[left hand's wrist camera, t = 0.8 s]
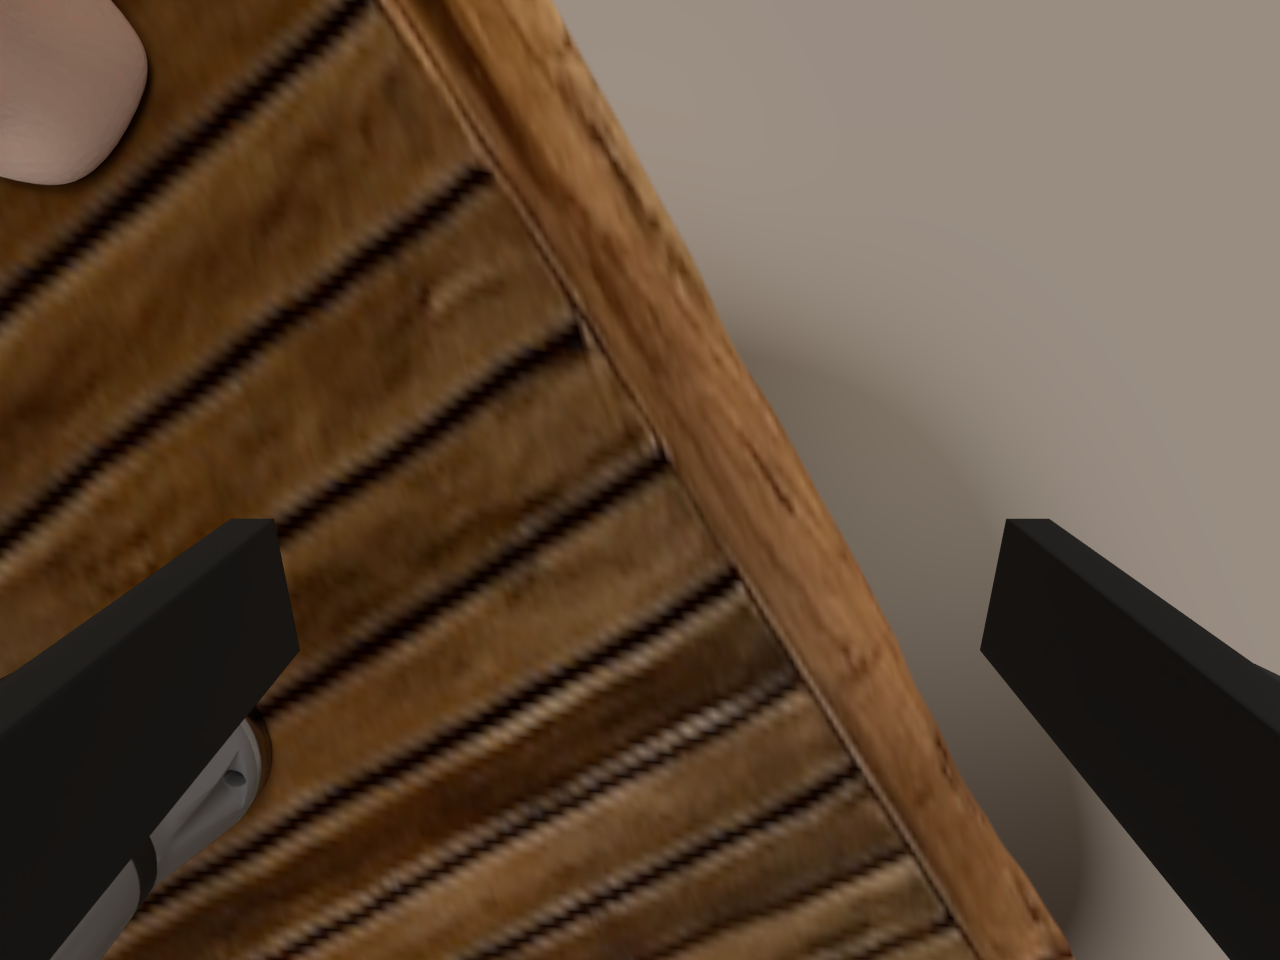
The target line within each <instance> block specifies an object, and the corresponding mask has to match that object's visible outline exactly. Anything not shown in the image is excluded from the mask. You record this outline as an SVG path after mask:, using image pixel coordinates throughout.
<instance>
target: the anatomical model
mask: <svg viewBox="0 0 1280 960" xmlns="http://www.w3.org/2000/svg"><path fill="white" fill-rule="evenodd" d="M147 72H148V65H147V57H146V53H145V50H144V47H143V45H142V43H141V41H140V39H139V37H138V35H137V34H136V32H135V30H134V29H133V28H132V26H131V25H130V24H129V22H128V21H127V19H126V18H125V17H124V15H123V14H122V13H121V11H120V10H119V9H118V8H117V7H116V6H115V4H114V3H113V2H112V1H111V0H0V177H4V178H8V179H13V180H17V181H22V182H28V183H34V184H43V185H60V184H67V183H70V182H74V181H77V180H79V179H81V178H83V177H85V176H86V175H88V174H89V173H90V172H92V171H93V170H94V169H96V168H97V167H98V166H99V165H100V164H101V163H102V162H103V161H104V160H105V159H106V158H107V157H108V155H109V154H110V153H111V152H112V150H113V149H114V148H115V146H116V145H117V144H118V142H119V140H120V139H121V137H122V135H123V134H124V132H125V131H126V129H127V127H128V125H129V123H130V122H131V120H132V118H133V116H134V114H135V112H136V110H137V108H138V105H139V102H140V100H141V97H142V95H143V92H144V89H145V85H146V81H147Z"/></svg>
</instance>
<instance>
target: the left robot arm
mask: <svg viewBox="0 0 1280 960" xmlns="http://www.w3.org/2000/svg"><path fill="white" fill-rule="evenodd" d="M299 651H300V648H299V643H298V638H297V633H296V628H295V623H294V618H293V613H292V608H291V603H290V598H289V593H288V588H287V583H286V578H285V573H284V568H283V563H282V558H281V553H280V548H279V543H278V538H277V533H276V528H275V523H274V519H230V520H229V521H227V522H226V523H224V524H223V525H222V526H220V527H219V528H217V529H216V530H214V531H213V532H212V533H210V534H209V535H207V536H206V537H205V538H203V539H202V540H200V541H199V542H198V543H196V544H195V545H193V546H192V547H190V548H189V549H188V550H186V551H185V552H183V553H182V554H181V555H179V556H178V557H176V558H175V559H173V560H172V561H171V562H169V563H168V564H166V565H165V566H164V567H162V568H161V569H159V570H158V571H157V572H155V573H154V574H152V575H151V576H149V577H148V578H147V579H145V580H144V581H142V582H141V583H140V584H138V585H137V586H135V587H134V588H133V589H131V590H130V591H128V592H127V593H125V594H124V595H123V596H121V597H120V598H118V599H117V600H116V601H114V602H113V603H111V604H110V605H108V606H107V607H106V608H104V609H103V610H101V611H100V612H99V613H97V614H96V615H94V616H93V617H92V618H90V619H89V620H87V621H86V622H84V623H83V624H82V625H80V626H79V627H77V628H76V629H75V630H73V631H72V632H70V633H69V634H68V635H66V636H65V637H63V638H62V639H60V640H59V641H58V642H56V643H55V644H53V645H52V646H51V647H49V648H48V649H46V650H45V651H43V652H42V653H41V654H39V655H38V656H36V657H35V658H34V659H32V660H31V661H29V662H28V663H27V664H25V665H24V666H22V667H21V668H19V669H18V670H17V671H15V672H14V673H12V674H9V675H7V676H5V677H3V678H1V679H0V960H101V959H102V957H103V956H104V955H105V953H106V952H107V950H108V949H109V948H110V946H111V945H112V944H113V942H114V941H115V940H116V938H117V937H118V936H119V934H120V933H121V932H122V930H123V929H124V927H125V926H126V925H127V923H128V922H129V921H130V919H131V918H132V917H133V915H134V913H135V912H136V911H137V910H138V908H139V907H140V906H141V904H142V903H143V902H144V900H145V899H146V898H147V896H148V895H149V894H150V893H151V891H152V890H153V889H154V887H155V886H156V885H157V884H159V883H160V882H161V881H163V880H164V879H165V878H167V877H168V876H169V875H170V874H172V873H173V872H174V871H176V870H177V869H178V868H179V867H181V866H182V865H183V864H185V863H186V862H187V861H189V860H190V859H191V858H192V857H194V856H195V855H196V854H198V853H199V852H200V851H201V850H203V849H204V848H205V847H207V846H208V845H209V844H211V843H212V842H213V841H214V840H216V839H217V838H218V837H220V836H221V835H222V834H224V833H225V832H226V831H227V830H229V829H230V828H231V827H232V826H233V825H234V824H235V823H237V822H238V821H239V820H240V819H241V818H242V817H243V815H244V814H245V813H246V812H247V810H248V809H249V807H250V806H251V804H252V803H253V802H254V800H255V799H256V797H257V796H258V794H259V793H260V791H261V790H262V788H263V786H264V785H265V782H266V780H267V778H268V774H269V771H270V765H271V746H270V740H269V736H268V733H267V730H266V727H265V724H264V722H263V720H262V718H261V716H260V714H259V712H258V711H257V709H256V707H255V705H256V704H257V703H258V702H259V700H260V699H261V698H262V697H263V695H264V694H265V693H266V692H267V690H268V689H269V688H270V687H271V685H272V684H273V683H274V682H275V680H276V679H277V678H278V677H279V676H280V674H281V673H282V672H283V671H284V669H285V668H286V667H287V666H288V664H289V663H290V662H291V661H292V659H293V658H294V657H295V656H296V654H297V653H298V652H299ZM980 651H981V652H982V653H983V654H984V656H985V657H986V658H987V659H988V661H989V662H990V663H991V664H992V666H993V667H994V668H995V669H996V671H997V672H998V673H999V674H1000V676H1001V677H1002V678H1003V679H1004V680H1005V682H1006V683H1007V684H1008V685H1009V687H1010V688H1011V689H1012V690H1013V692H1014V693H1015V694H1016V695H1017V697H1018V698H1019V699H1020V700H1021V701H1022V703H1023V704H1024V705H1025V706H1026V708H1027V709H1028V710H1029V711H1030V713H1031V714H1032V715H1033V716H1034V718H1035V719H1036V720H1037V721H1038V723H1039V724H1040V725H1041V726H1042V727H1043V729H1044V730H1045V731H1046V732H1047V734H1048V735H1049V736H1050V737H1051V739H1052V740H1053V741H1054V742H1055V744H1056V745H1057V746H1058V747H1059V749H1060V750H1061V751H1062V752H1063V753H1064V755H1065V756H1066V757H1067V758H1068V760H1069V761H1070V762H1071V763H1072V765H1073V766H1074V767H1075V768H1076V770H1077V771H1078V772H1079V773H1080V775H1081V776H1082V777H1083V778H1084V779H1085V781H1086V782H1087V783H1088V784H1089V786H1090V787H1091V788H1092V789H1093V791H1094V792H1095V793H1096V794H1097V796H1098V797H1099V798H1100V799H1101V801H1102V802H1103V803H1104V804H1105V805H1106V807H1107V808H1108V809H1109V810H1110V812H1111V813H1112V814H1113V815H1114V817H1115V818H1116V819H1117V820H1118V822H1119V823H1120V824H1121V825H1122V826H1123V828H1124V829H1125V830H1126V831H1127V833H1128V834H1129V835H1130V836H1131V838H1132V839H1133V840H1134V841H1135V843H1136V844H1137V845H1138V846H1139V848H1140V849H1141V850H1142V851H1143V852H1144V854H1145V855H1146V856H1147V857H1148V859H1149V860H1150V861H1151V862H1152V864H1153V865H1154V866H1155V867H1156V869H1157V870H1158V871H1159V872H1160V874H1161V875H1162V876H1163V877H1164V878H1165V880H1166V881H1167V882H1168V883H1169V885H1170V886H1171V887H1172V888H1173V890H1174V891H1175V892H1176V893H1177V895H1178V896H1179V897H1180V898H1181V900H1182V901H1183V902H1184V903H1185V904H1186V906H1187V907H1188V908H1189V909H1190V911H1191V912H1192V913H1193V914H1194V916H1195V917H1196V918H1197V919H1198V921H1199V922H1200V923H1201V924H1202V926H1203V927H1204V928H1205V929H1206V930H1207V932H1208V933H1209V934H1210V935H1211V937H1212V938H1213V939H1214V940H1215V942H1216V943H1217V944H1218V945H1219V947H1220V948H1221V949H1222V950H1223V952H1224V953H1225V954H1226V955H1227V956H1228V958H1229V959H1230V960H1280V676H1279V675H1277V674H1275V673H1273V672H1271V671H1269V670H1267V669H1264V668H1262V667H1260V666H1258V665H1256V664H1253V663H1252V662H1251V661H1249V660H1248V659H1246V658H1245V657H1243V656H1242V655H1241V654H1239V653H1238V652H1237V651H1235V650H1234V649H1232V648H1231V647H1229V646H1228V645H1227V644H1225V643H1224V642H1222V641H1221V640H1220V639H1218V638H1217V637H1215V636H1214V635H1212V634H1211V633H1210V632H1208V631H1207V630H1205V629H1204V628H1203V627H1201V626H1200V625H1198V624H1197V623H1195V622H1194V621H1193V620H1191V619H1190V618H1188V617H1187V616H1186V615H1184V614H1183V613H1181V612H1180V611H1179V610H1177V609H1176V608H1174V607H1173V606H1172V605H1170V604H1169V603H1167V602H1166V601H1164V600H1163V599H1162V598H1160V597H1159V596H1157V595H1156V594H1155V593H1153V592H1152V591H1150V590H1149V589H1147V588H1146V587H1145V586H1143V585H1142V584H1140V583H1139V582H1138V581H1136V580H1135V579H1133V578H1132V577H1131V576H1129V575H1128V574H1126V573H1125V572H1123V571H1122V570H1121V569H1119V568H1118V567H1116V566H1115V565H1114V564H1112V563H1111V562H1109V561H1108V560H1106V559H1105V558H1104V557H1102V556H1101V555H1099V554H1098V553H1097V552H1095V551H1094V550H1092V549H1091V548H1090V547H1088V546H1087V545H1085V544H1084V543H1082V542H1081V541H1080V540H1078V539H1077V538H1075V537H1074V536H1073V535H1071V534H1070V533H1068V532H1067V531H1066V530H1064V529H1063V528H1061V527H1060V526H1058V525H1057V524H1056V523H1054V522H1053V521H1051V520H1050V519H1006V523H1005V528H1004V533H1003V538H1002V543H1001V548H1000V553H999V558H998V563H997V568H996V573H995V578H994V583H993V588H992V593H991V598H990V603H989V608H988V613H987V618H986V623H985V628H984V633H983V638H982V643H981V648H980Z"/></svg>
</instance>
